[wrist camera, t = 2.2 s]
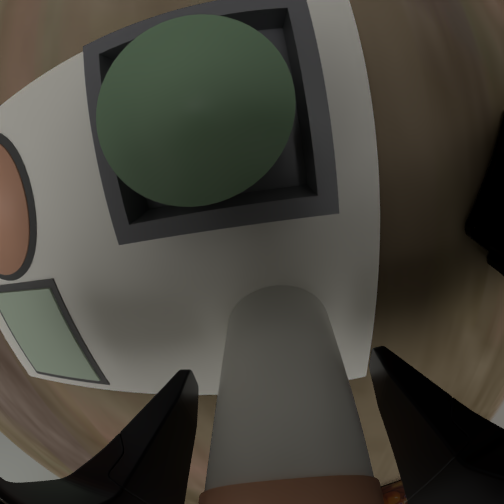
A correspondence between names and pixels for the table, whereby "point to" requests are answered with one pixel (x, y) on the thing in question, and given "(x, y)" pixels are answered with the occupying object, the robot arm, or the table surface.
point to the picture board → (172, 243)
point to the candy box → (394, 493)
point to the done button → (195, 110)
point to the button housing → (287, 165)
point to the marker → (286, 410)
